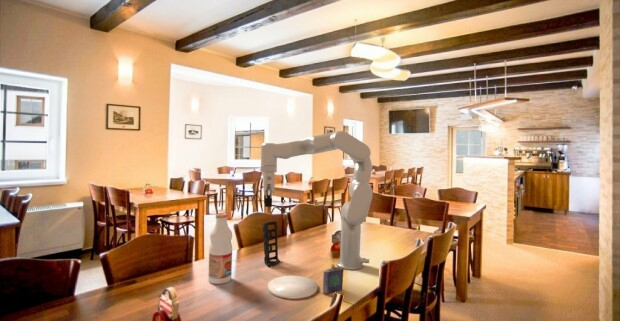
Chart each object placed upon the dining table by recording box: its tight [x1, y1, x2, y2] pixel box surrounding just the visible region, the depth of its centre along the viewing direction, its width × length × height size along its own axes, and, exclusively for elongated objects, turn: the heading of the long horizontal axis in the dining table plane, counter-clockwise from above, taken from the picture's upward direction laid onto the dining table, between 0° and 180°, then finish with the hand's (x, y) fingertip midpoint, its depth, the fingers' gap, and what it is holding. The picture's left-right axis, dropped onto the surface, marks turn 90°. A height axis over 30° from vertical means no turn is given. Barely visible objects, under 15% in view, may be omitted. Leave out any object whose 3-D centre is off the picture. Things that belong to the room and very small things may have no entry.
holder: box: [262, 221, 281, 268], centre depth 160 cm, size 11×8×20 cm
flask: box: [322, 264, 345, 295], centre depth 131 cm, size 9×3×11 cm, turn 121°
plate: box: [267, 275, 318, 300], centre depth 133 cm, size 20×20×1 cm
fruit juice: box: [208, 212, 233, 285], centre depth 138 cm, size 9×9×28 cm
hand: (267, 204), depth 156 cm, fingers open, 9 cm apart
